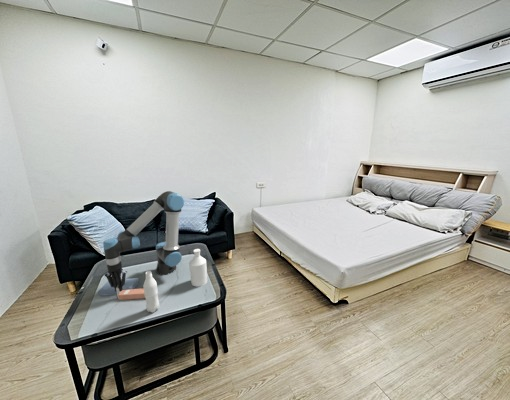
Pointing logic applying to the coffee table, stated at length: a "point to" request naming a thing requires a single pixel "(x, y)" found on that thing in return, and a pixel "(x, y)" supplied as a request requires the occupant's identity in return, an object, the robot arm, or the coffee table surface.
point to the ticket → (128, 285)
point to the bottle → (198, 269)
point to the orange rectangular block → (131, 294)
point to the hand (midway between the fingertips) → (119, 295)
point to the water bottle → (151, 293)
